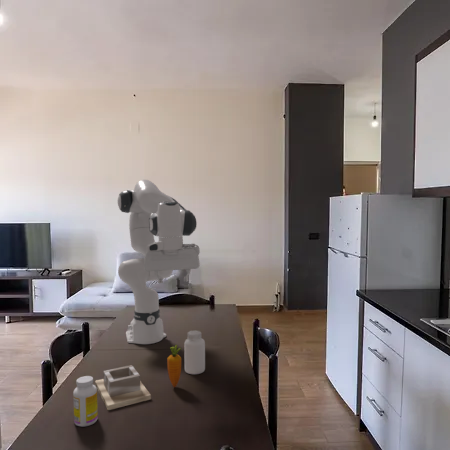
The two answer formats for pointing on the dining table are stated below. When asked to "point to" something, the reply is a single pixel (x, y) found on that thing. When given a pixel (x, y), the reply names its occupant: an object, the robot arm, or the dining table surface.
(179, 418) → the dining table surface
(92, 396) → the supplement bottle
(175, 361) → the carrot
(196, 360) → the pill bottle
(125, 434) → the dining table surface
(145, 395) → the anchor plate
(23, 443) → the dining table surface
